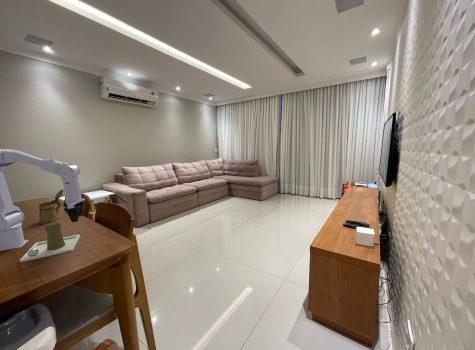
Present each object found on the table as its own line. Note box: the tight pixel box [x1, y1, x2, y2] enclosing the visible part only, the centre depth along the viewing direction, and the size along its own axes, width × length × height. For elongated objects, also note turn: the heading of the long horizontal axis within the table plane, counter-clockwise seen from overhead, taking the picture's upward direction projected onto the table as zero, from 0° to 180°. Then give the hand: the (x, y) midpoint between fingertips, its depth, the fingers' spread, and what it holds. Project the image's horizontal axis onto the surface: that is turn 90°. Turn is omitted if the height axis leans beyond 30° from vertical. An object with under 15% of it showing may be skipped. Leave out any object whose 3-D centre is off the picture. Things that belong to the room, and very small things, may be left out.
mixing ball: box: [26, 248, 39, 257], centre depth 80 cm, size 3×3×3 cm
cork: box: [44, 221, 65, 250], centre depth 87 cm, size 6×6×11 cm
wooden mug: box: [38, 188, 64, 224], centre depth 122 cm, size 9×14×18 cm, turn 148°
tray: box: [19, 233, 81, 263], centre depth 87 cm, size 16×16×2 cm
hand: (76, 219), depth 94 cm, fingers open, 7 cm apart
